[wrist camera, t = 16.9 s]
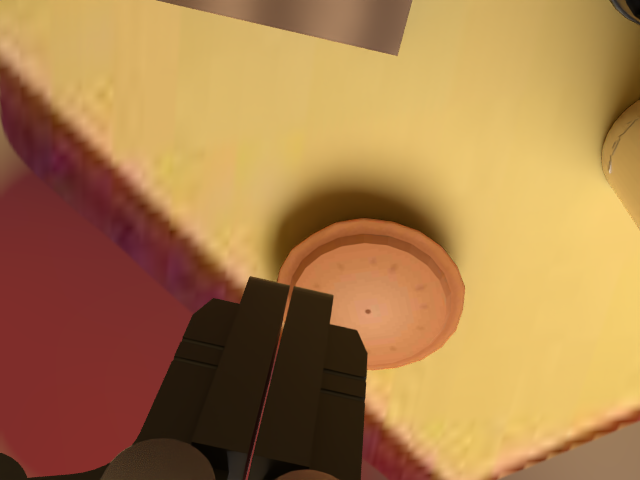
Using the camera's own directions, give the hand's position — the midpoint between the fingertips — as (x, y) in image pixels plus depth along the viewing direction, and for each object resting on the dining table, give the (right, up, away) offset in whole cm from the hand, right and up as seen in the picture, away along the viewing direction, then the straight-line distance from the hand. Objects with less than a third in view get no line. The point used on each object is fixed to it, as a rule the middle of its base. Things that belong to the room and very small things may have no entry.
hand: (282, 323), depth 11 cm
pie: (+5, -2, +42) cm, 43 cm away
